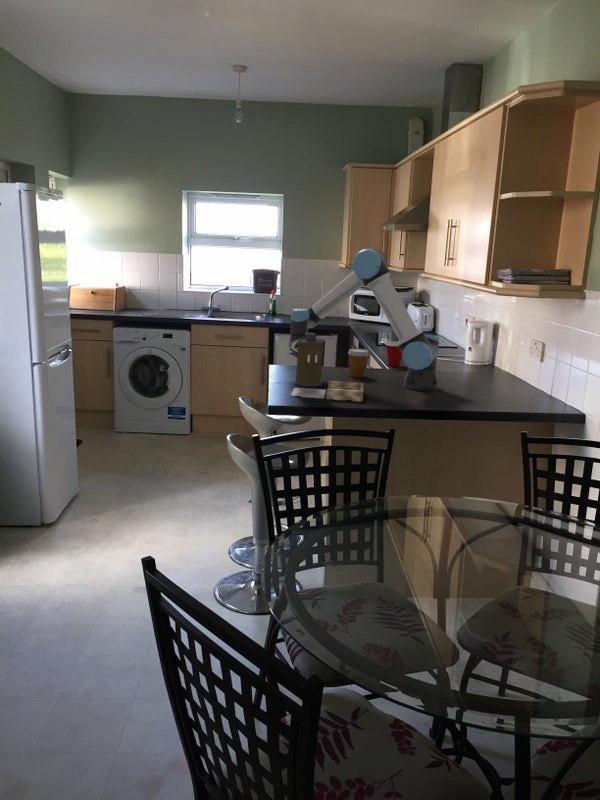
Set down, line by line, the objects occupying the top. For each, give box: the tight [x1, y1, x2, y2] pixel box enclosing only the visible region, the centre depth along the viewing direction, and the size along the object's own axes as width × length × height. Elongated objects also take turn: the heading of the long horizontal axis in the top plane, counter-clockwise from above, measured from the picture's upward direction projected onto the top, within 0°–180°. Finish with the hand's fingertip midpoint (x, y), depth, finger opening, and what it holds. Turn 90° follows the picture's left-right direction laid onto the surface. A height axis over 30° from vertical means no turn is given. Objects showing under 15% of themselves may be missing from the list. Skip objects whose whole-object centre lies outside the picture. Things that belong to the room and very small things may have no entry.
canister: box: [295, 332, 326, 387], centre depth 259 cm, size 11×10×20 cm
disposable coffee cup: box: [347, 348, 369, 378], centre depth 302 cm, size 10×10×12 cm
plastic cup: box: [384, 340, 403, 368], centre depth 333 cm, size 11×11×12 cm
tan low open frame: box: [325, 380, 364, 402], centre depth 260 cm, size 14×16×4 cm
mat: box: [290, 387, 327, 399], centre depth 262 cm, size 13×14×1 cm
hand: (312, 358), depth 253 cm, fingers closed on canister, 2 cm apart
